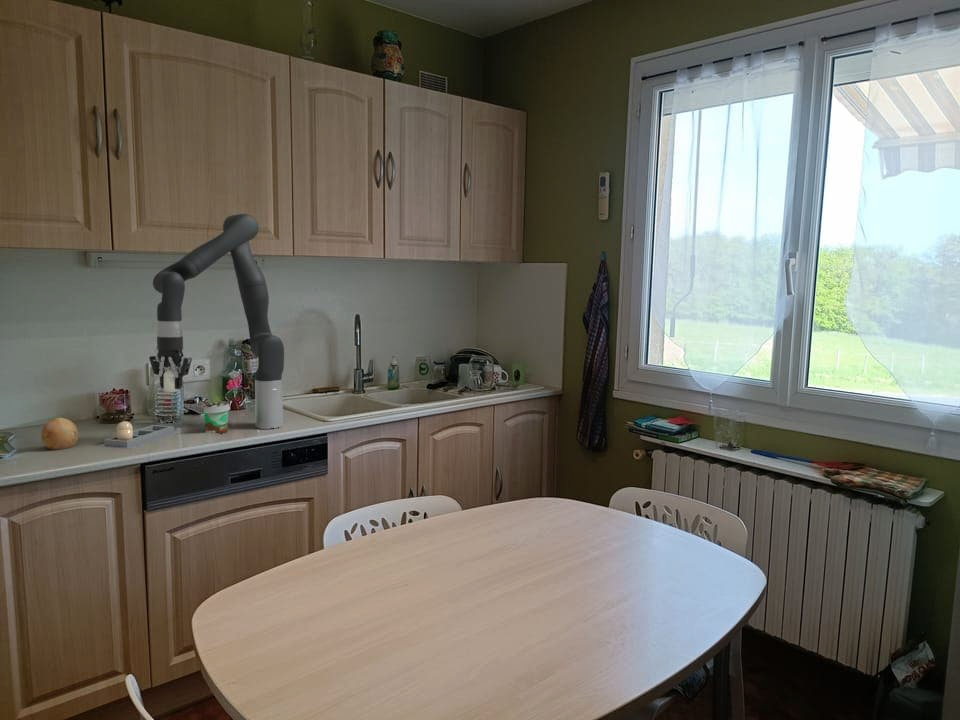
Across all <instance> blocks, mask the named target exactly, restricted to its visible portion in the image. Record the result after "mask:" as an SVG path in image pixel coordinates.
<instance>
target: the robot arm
mask: <svg viewBox="0 0 960 720" xmlns="http://www.w3.org/2000/svg"><path fill="white" fill-rule="evenodd" d="M259 229H260V227H259V222H258V220H257V219H256V218H255V217H254V216H253V215H252V214H248V213H247V214H246V213H240V214H239V213H238V214H232V215H229V216H227V217H226V218H225V219H224V221H223V224H222V230H223V231H222V233H220V234H219V235H217V236H215V237H214V238H212V239H210V240H208V241H206V242H205V243H202V244H201V245H199V246H197V247H195V248H194V249H193V250H191V251H190V252H189V253H187V254H185V255H184V256H183V257H182V258H181V259H180V260H178V261H177V262H174V263H172V264H170V265H169V266H167V267H166V268H164V269H162V270H160V271H159V272H158V273H156V274H155V276H154V277H153V279H152V286H153V289H154V290H155V291H156V292H158V293H159V294H162V295H161V301H160V302H159V303H158V304H157V308H156V318H157V319H156V321H157V323H156V350H157V354H156V355H151V356H149V358H148V359H149V362H150V365H151V369H152V373H153V374H154V375H157V376H159V385H160V388H161V389H164V378H163V375H164V373H165V371H167V370H169V369H172V370H173V371H174V374H175V377H176V378H175V389H179V390H181V389H182V387H183V377H184V376H187V375H189V371H190V368H191V364H192V360H193V359H192V357H191V356H189V357H187V356H184V353H183V351H184V329H183V328H184V327H183V320H182V319H183V318H182V316H183V315H182V304H183V301H184V298H185V290H186V285H185V282H186V281H188V280H192V279H194V278H196V277H199V275H200V274H201V273H203V272H204V271H206V270H207V269H208V268H210V267H211V266H212V265H213V264H215V263H216V262H217V261H218V260H220V259H221V258H222V257H224V256H226V255H227V254H228V253H230V255H231V259H232V263H233V267H234V272H235V276H236V280H237V285H238V291H239V294H240V295H239V296H240V298H241V302H242V307H243V311H244V314H245V317H246V321H247V326H248V327H247V328H248V333H249V334H248V335H249V344H250V348H251V352H252V354H253V355H254V356H255V357H256V358H257V359H258V361H257V362H258V365H257V366H258V367H257V369H256V370H255V372H254V393H255V394H254V397H255V398H254V399H255V400H254V401H255V402H254V406H255V409H254V410H255V413H254V415H255V428H256V427H257V428H256V429H259V428H260V429H261V430H270V429H271V428H274V429H279V428H282V427H283V425H284V405H283V404H284V400H283V380H282V379H283V373H284V370H285V347H284V342H283V340H281V338H280V337H278V336H277V335H273V334H272V330H271V327H270V324H269V318H268V313H269V304H270V303H269V302H270V301H269V300H270V296H269V290H268V287H267V286H268V285H267V282H266V281H267V280H266V278H265V276H264V273H263V272H262V270H261V268H260V266H259V265H258V264H257V261H256V260H255V258H254V256H253V253H252V250H251V246H250V245H251V244H250V241H252V240H254V239H255V238H257V237H256V236H257V235H258V233H259ZM281 426H282V427H281ZM278 427H279V428H278ZM271 430H272V429H271Z"/></svg>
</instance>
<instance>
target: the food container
mask: <svg viewBox="0 0 960 720" xmlns="http://www.w3.org/2000/svg"><path fill="white" fill-rule="evenodd" d="M230 410H231V407H230V404H229V402H227V401H224V400H223V401H221V400H217V403H215V404H212V405H210V406H204V407H203V414H204V427H205V434H216V435H218V434H221V435H224V434H223V433H225V434H227V433H228V423H229V422H228V421H229V411H230ZM226 432H227V433H226Z"/></svg>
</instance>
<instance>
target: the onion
mask: <svg viewBox="0 0 960 720" xmlns="http://www.w3.org/2000/svg"><path fill="white" fill-rule="evenodd" d="M40 434H41V435H40V436H41V440H42V441H41V442H42V444H43V446H44V447H46V448H48V449H49V450H53V451H54V450H55V451H56V450H57V451H58V450H65V449H70V448H72V447H73V446H74V445H75V444H76V443H77V442H78V440H79V429H78V428H77V425H76V424H75V423H74V422H73V421H72V420H70V419H67V418H65V417H55V418H53V419H51V420H49V421H48V422H47V423H45V425H44V426H43V428H42V430H41V433H40Z"/></svg>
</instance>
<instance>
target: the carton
mask: <svg viewBox="0 0 960 720" xmlns="http://www.w3.org/2000/svg"><path fill="white" fill-rule="evenodd" d="M181 432H182V431H181V430H180V431H178V430H175V426H172V425H171V426H170V425H157V424H156V425H155V424H152V425H149V426H144V427H141V428H139V429H135V430H133V439H130V440H127V441H124V440H117V435H116V436H112V437H109V438H106V439H104V443H102V444H99V445H97V447H103V448H113V449H114V448H117V449H127V450H131V449H134V448H138V447H141V446H143V445H146V444H149V443H152V442H154V441H159V440H160V439H164V438H166V437H170V436H172V435H175V434H178V433H181Z"/></svg>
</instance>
